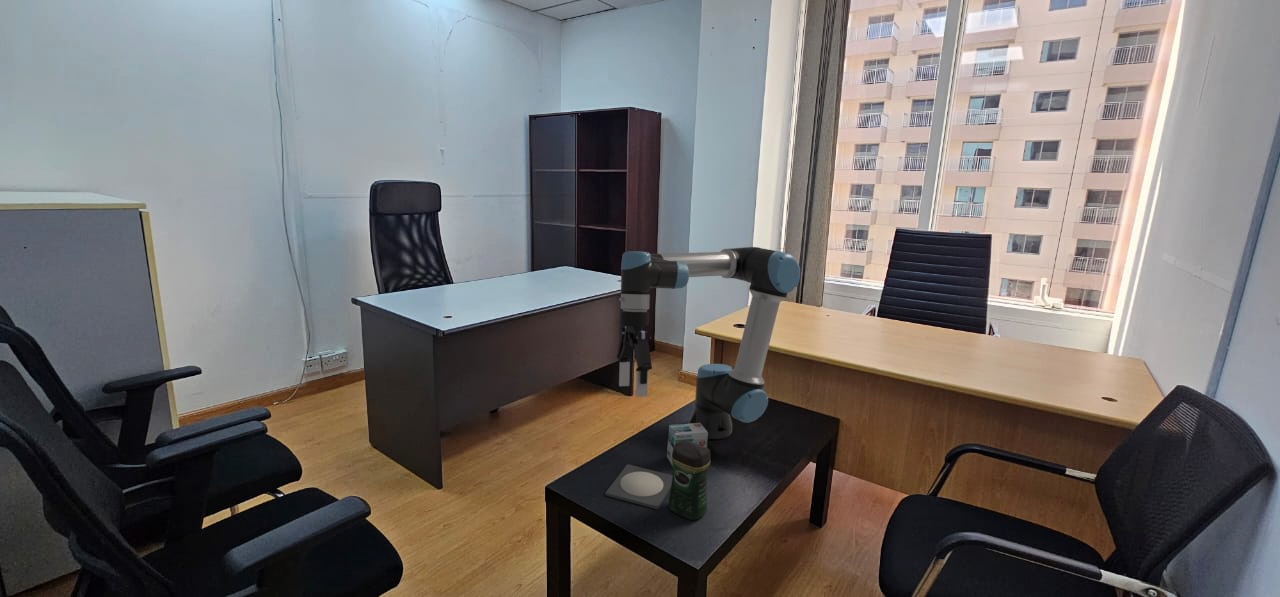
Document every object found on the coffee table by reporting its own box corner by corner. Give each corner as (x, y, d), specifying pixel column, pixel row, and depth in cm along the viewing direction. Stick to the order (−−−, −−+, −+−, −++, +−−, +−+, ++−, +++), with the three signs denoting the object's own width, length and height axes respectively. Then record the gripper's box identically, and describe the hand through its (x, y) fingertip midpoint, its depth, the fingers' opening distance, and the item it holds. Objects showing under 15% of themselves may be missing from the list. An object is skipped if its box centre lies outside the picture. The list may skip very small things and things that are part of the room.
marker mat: (627, 466, 157) (627, 463, 157) (675, 478, 152) (675, 475, 152) (605, 495, 143) (605, 492, 142) (658, 509, 138) (658, 506, 137)
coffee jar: (711, 511, 138) (716, 446, 134) (694, 525, 132) (700, 457, 128) (680, 496, 144) (685, 433, 140) (663, 509, 138) (667, 444, 134)
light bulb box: (672, 468, 158) (675, 435, 155) (665, 456, 164) (668, 424, 162) (706, 464, 161) (709, 432, 158) (698, 453, 167) (700, 422, 165)
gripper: (607, 307, 149) (605, 382, 150) (637, 313, 126) (635, 402, 127) (632, 307, 152) (630, 381, 153) (666, 313, 129) (664, 400, 129)
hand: (632, 390), depth 140 cm, fingers open, 13 cm apart
